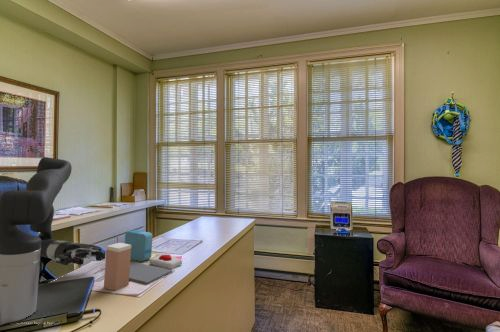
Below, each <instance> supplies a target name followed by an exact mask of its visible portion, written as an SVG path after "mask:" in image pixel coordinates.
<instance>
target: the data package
mask: <svg viewBox="0 0 500 332" xmlns="http://www.w3.org/2000/svg"><path fill="white" fill-rule="evenodd" d="M124 243H125V244H130V245H131V259H130V260H133V261H136V262H137V261H139V262H145V261H148V260H151V259H152V251H153V250H152V247H153V233H152V232H149V231H142V230H138V229H133V230H128V231H126V232H125V234H124Z"/></svg>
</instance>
